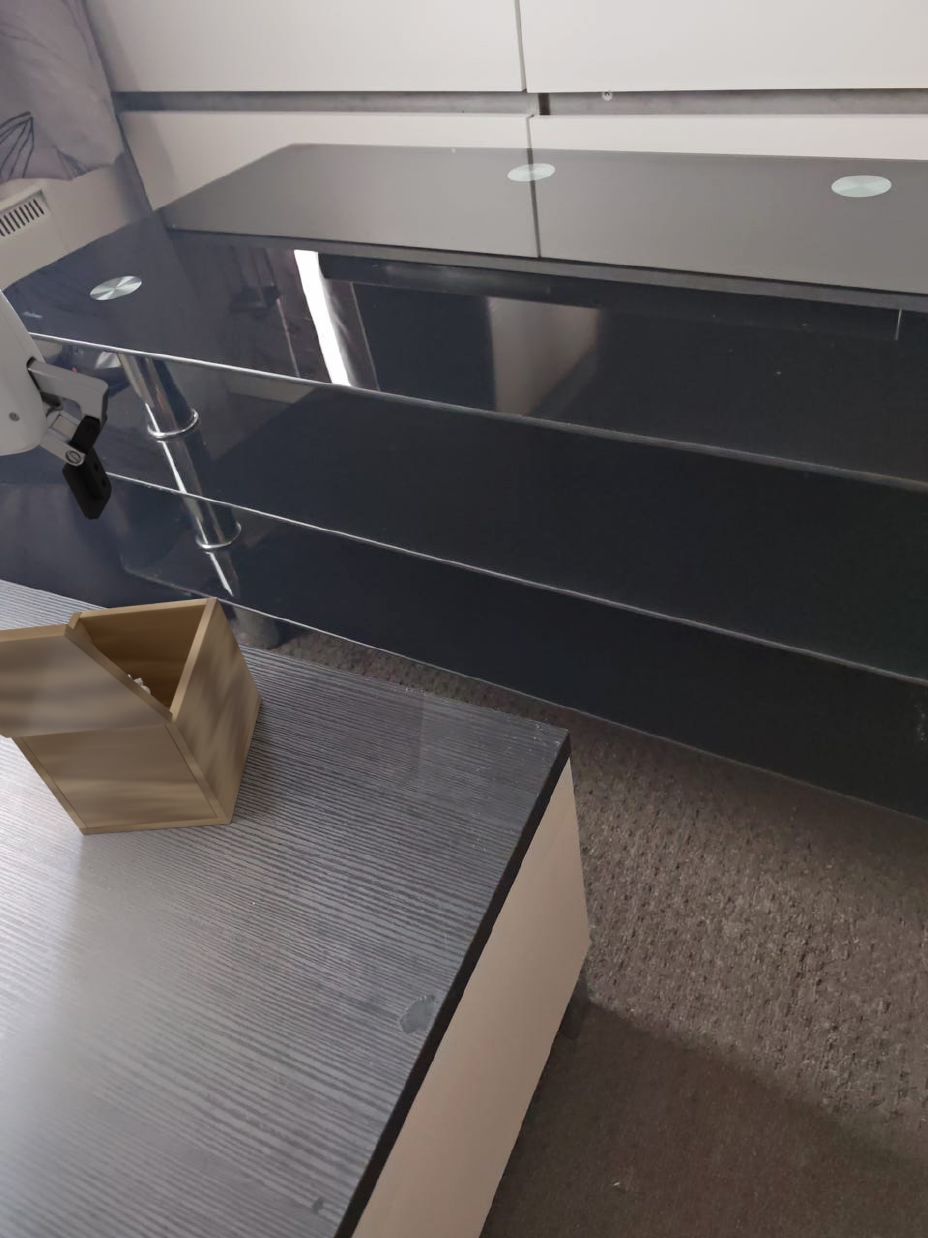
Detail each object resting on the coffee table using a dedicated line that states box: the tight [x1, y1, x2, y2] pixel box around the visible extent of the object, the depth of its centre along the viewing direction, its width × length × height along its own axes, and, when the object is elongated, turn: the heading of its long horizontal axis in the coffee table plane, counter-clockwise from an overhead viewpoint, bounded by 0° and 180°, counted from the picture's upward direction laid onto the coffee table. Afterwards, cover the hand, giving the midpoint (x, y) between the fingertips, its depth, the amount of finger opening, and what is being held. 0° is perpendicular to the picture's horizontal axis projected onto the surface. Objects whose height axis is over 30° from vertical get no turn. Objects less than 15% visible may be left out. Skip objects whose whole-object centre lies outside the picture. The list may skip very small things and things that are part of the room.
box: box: [11, 596, 263, 835], centre depth 75 cm, size 14×13×12 cm
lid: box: [0, 623, 173, 739], centre depth 59 cm, size 14×13×1 cm
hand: (31, 515), depth 61 cm, fingers open, 9 cm apart
